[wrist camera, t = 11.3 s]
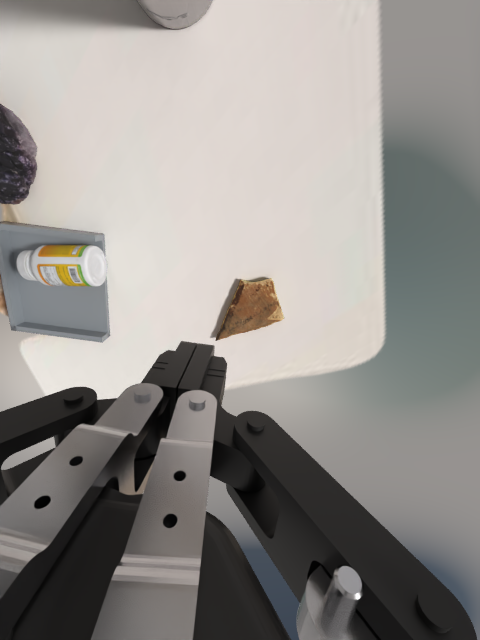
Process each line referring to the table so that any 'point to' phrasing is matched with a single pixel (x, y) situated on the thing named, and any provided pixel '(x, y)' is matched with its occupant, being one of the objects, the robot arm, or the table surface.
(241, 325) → the shard
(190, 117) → the table surface
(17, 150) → the crystal cluster
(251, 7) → the table surface
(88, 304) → the tray
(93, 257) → the supplement bottle
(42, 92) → the table surface
